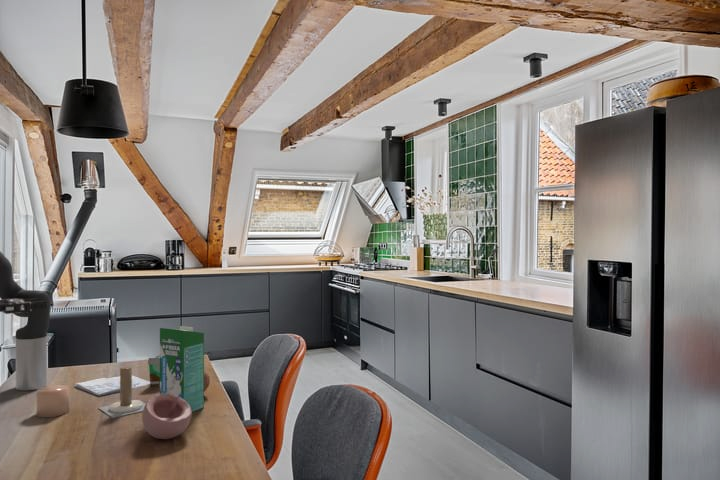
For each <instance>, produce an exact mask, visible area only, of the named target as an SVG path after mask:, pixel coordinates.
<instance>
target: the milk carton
mask: <svg viewBox="0 0 720 480" xmlns="http://www.w3.org/2000/svg"><path fill="white" fill-rule="evenodd" d="M159 356H160V386H159V394H172V395H176V396H179V397H181V398H182V399H184V400H185V401H186V402H187V403H188V404H189V405H190V407H191V410H192V413H193V412H196V411H198V410H200V409H203V408H205V391H204V371H205V332H201V331H200V332H199V331H194V327H192V326H183V325H180V326H179V329H176V328H168V327H159Z"/></svg>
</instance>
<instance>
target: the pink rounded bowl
mask: <svg viewBox="0 0 720 480" xmlns="http://www.w3.org/2000/svg"><path fill="white" fill-rule="evenodd" d="M145 403H146V405H145V407H144V409H143V412H141V413H142V415H141V421H142V425H143V428H144V429H145V431H146V432H147V433H148V435H150V436H152V437H153V438H155V439H160V440H170V439H174V438H175V437H177V436H180V435H181V434H182V433H183V432H184V431H185V430H186V429H187V427H188V426H189V424H190V422H191V419H192V415H193V412H192V410H191V407H190V405H189V404H188V403H187V402H186V401H185V400H184V399H182V398H181V397H179V396H176V395H172V394H160V393H159V394H157V395H153V396H152V397H150V398H149V399H147V401H146V402H145Z"/></svg>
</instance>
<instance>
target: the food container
mask: <svg viewBox="0 0 720 480" xmlns="http://www.w3.org/2000/svg"><path fill="white" fill-rule="evenodd" d="M147 364H148V370H149V371H148V372H149V382H150V385H149V386H150V387H160V355H157V356H156V357H148V359H147Z"/></svg>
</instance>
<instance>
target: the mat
mask: <svg viewBox="0 0 720 480" xmlns="http://www.w3.org/2000/svg"><path fill="white" fill-rule="evenodd" d="M137 400H138V401H141V402H142V408H140V409H139V410H136V411H132V412H126V413H114V412H110V411H109V406H110V405H111V404H109V405H104V406H101V407H98V409H99V410H100V411H101V412H103V413H105V414H106V415H107V416H108V417H110V418H111V419H117V418H119V417H125V416H129V415H133V414H138V413H143V409H144V407H145V405H146V403H147V402H144V401H143V400H140V399H137Z"/></svg>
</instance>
